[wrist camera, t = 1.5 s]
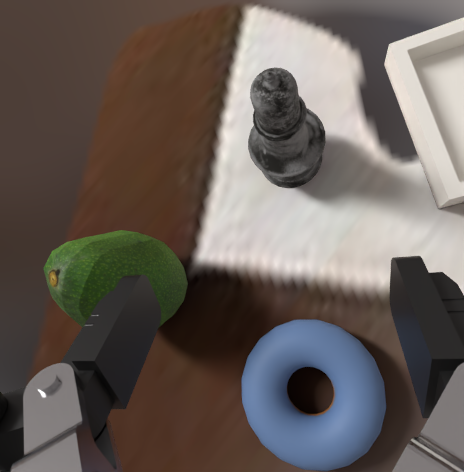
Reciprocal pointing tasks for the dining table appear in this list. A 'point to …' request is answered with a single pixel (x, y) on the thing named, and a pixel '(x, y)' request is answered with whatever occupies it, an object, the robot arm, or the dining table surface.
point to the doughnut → (321, 424)
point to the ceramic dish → (434, 103)
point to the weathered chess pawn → (284, 131)
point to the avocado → (113, 271)
